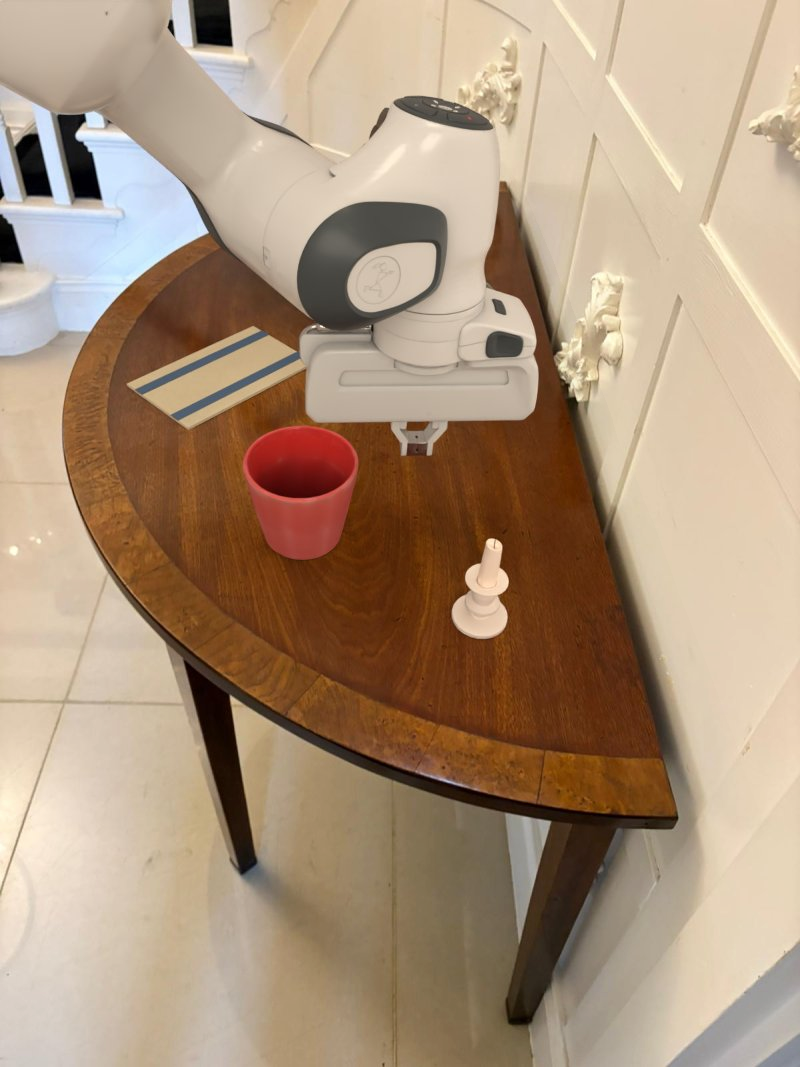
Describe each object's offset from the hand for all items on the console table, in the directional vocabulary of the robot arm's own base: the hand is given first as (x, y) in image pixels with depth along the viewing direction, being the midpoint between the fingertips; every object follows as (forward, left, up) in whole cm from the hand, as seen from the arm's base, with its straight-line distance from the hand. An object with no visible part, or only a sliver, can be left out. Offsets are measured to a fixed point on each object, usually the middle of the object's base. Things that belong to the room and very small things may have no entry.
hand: (415, 451), depth 74 cm
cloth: (+4, +35, -11) cm, 37 cm away
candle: (-4, -12, -11) cm, 17 cm away
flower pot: (-8, +7, -11) cm, 15 cm away
